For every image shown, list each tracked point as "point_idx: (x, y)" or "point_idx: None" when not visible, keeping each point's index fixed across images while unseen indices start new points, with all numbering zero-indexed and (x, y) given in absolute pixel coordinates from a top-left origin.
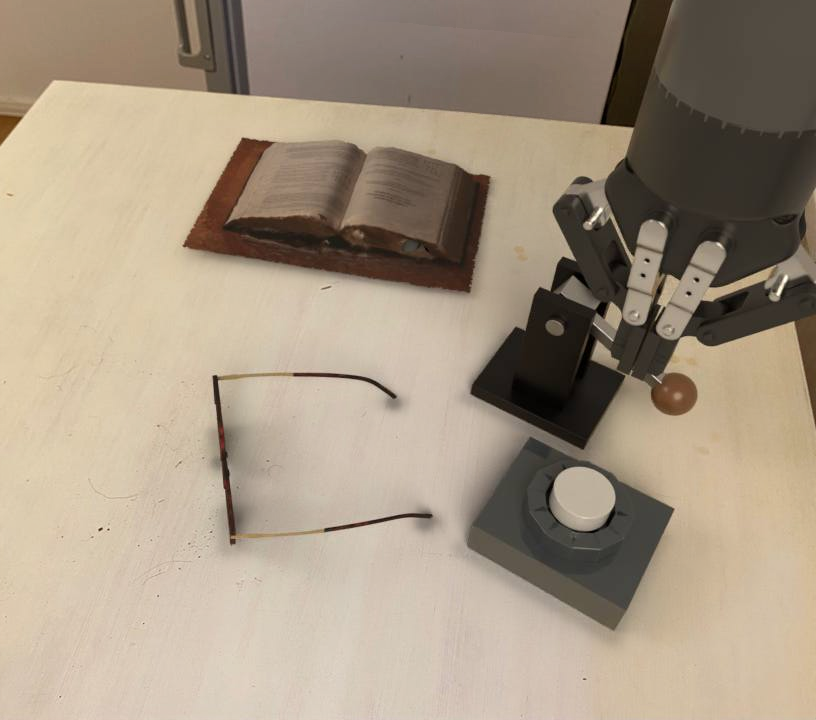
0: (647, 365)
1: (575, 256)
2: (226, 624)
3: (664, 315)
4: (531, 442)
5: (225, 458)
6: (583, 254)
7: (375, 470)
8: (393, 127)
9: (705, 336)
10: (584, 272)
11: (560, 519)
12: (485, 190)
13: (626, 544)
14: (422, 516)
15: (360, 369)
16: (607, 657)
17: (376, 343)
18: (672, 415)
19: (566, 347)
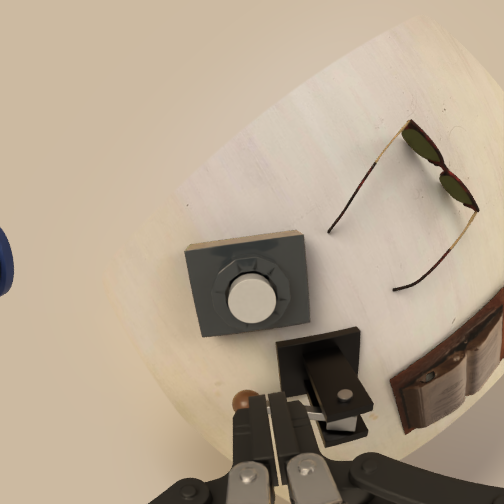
0: (252, 416)
1: (440, 476)
2: (369, 97)
3: (265, 493)
4: (306, 318)
5: (444, 166)
6: (434, 488)
7: (374, 236)
8: (454, 416)
9: (191, 491)
10: (413, 470)
11: (254, 274)
12: (404, 428)
13: (210, 294)
14: (333, 224)
15: (417, 291)
16: (184, 226)
17: (418, 313)
18: (240, 391)
19: (328, 388)
